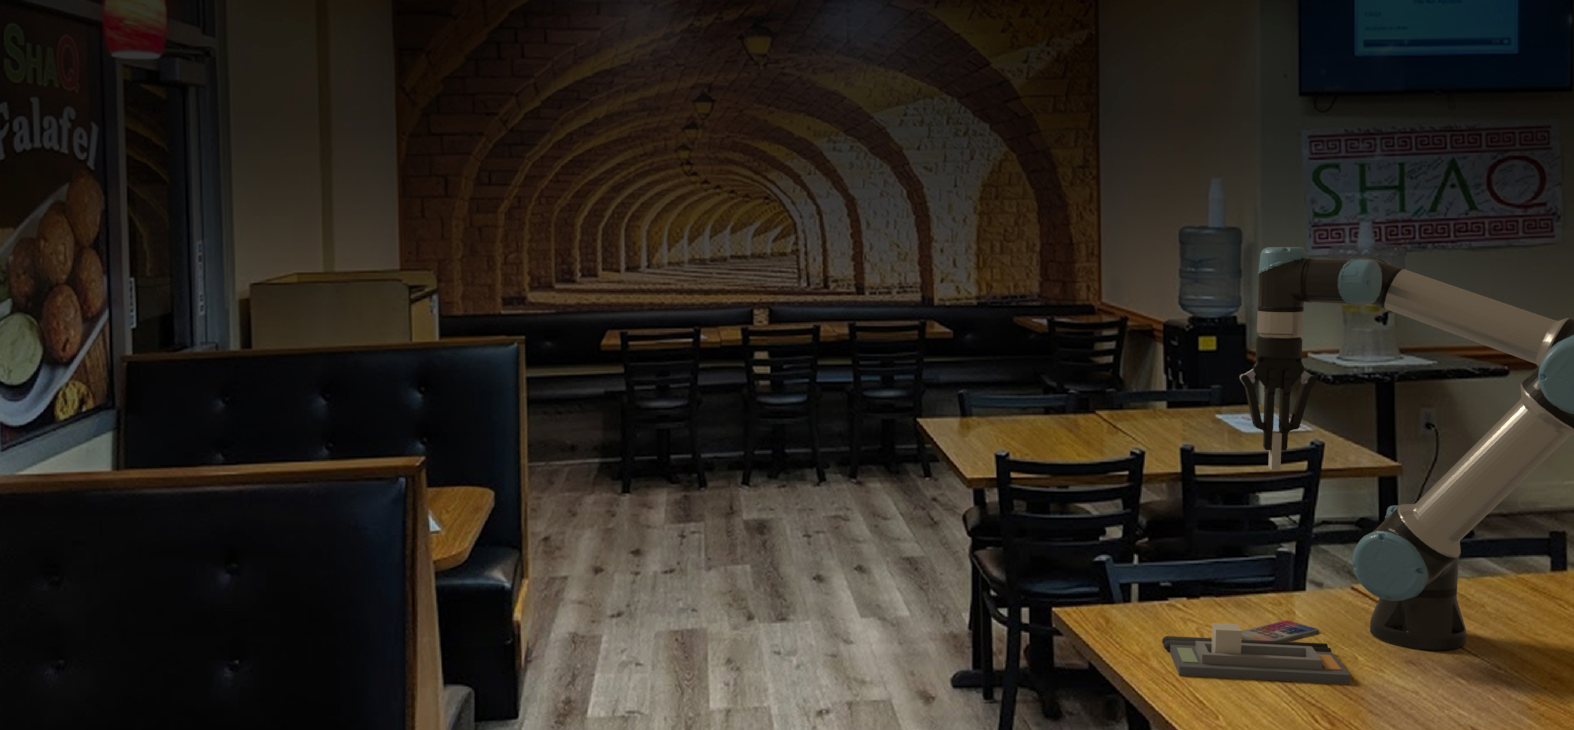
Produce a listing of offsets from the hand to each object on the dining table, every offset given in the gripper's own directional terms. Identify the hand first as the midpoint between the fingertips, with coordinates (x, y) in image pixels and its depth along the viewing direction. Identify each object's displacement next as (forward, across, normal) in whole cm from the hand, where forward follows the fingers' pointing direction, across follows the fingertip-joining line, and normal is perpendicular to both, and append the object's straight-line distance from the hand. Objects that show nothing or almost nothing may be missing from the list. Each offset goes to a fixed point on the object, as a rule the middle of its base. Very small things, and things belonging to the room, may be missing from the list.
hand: (1274, 468), depth 225 cm
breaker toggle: (+28, +11, +21) cm, 36 cm away
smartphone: (+30, -1, +2) cm, 30 cm away
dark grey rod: (+29, +6, +12) cm, 32 cm away
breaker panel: (+29, +6, +21) cm, 37 cm away
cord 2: (+29, +6, +14) cm, 33 cm away
